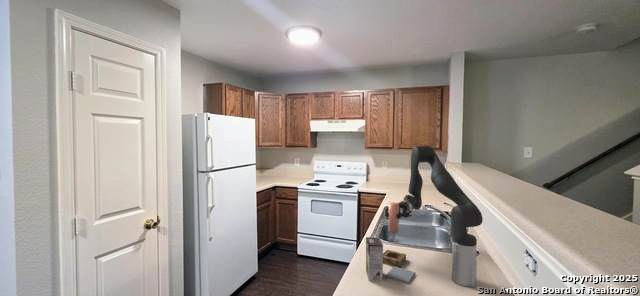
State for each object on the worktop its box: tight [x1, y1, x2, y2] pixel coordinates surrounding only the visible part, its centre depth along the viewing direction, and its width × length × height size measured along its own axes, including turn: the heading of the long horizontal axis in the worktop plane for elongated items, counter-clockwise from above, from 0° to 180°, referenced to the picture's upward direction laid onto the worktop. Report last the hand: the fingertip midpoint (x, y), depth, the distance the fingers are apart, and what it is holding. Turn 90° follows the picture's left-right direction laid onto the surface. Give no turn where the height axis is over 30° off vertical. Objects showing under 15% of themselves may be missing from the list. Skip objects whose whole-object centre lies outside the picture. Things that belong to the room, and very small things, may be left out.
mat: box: [385, 266, 416, 285], centre depth 125 cm, size 10×10×1 cm
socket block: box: [383, 249, 407, 268], centre depth 139 cm, size 10×10×3 cm
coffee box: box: [365, 236, 384, 282], centre depth 124 cm, size 9×6×16 cm
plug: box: [387, 202, 400, 234], centre depth 138 cm, size 5×5×14 cm
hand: (392, 215), depth 136 cm, fingers closed on plug, 5 cm apart
